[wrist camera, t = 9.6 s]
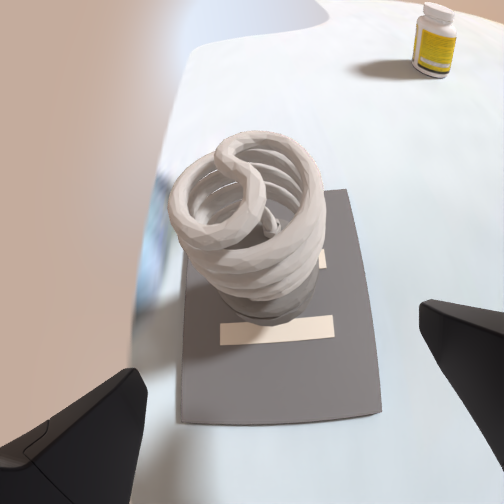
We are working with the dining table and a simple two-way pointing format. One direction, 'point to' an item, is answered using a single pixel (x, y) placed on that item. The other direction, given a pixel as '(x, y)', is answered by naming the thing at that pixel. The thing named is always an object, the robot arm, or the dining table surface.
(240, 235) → the light bulb
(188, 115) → the dining table surface
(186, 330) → the board
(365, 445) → the dining table surface
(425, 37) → the supplement bottle
